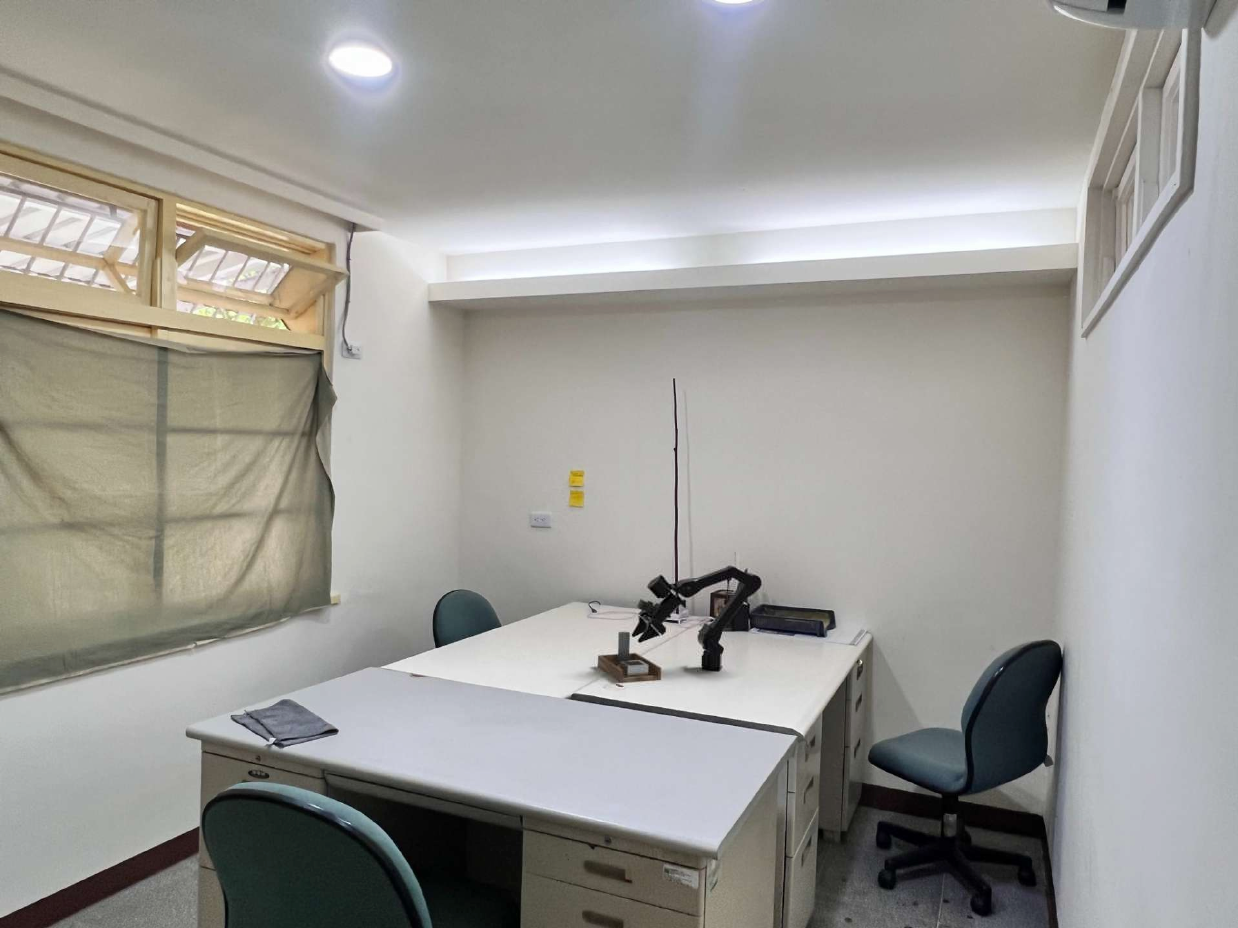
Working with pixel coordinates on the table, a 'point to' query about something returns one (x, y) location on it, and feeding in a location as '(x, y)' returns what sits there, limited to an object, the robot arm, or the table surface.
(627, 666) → the frame
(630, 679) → the box
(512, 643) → the table surface
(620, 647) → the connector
